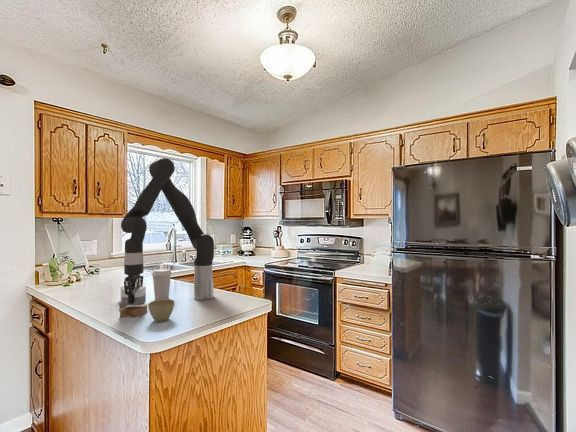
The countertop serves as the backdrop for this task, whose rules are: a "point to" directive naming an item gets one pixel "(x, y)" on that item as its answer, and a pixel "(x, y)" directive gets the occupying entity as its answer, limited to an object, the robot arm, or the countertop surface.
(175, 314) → the countertop surface
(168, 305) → the beige round bowl
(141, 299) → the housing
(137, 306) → the stand
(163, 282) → the coffee cup
